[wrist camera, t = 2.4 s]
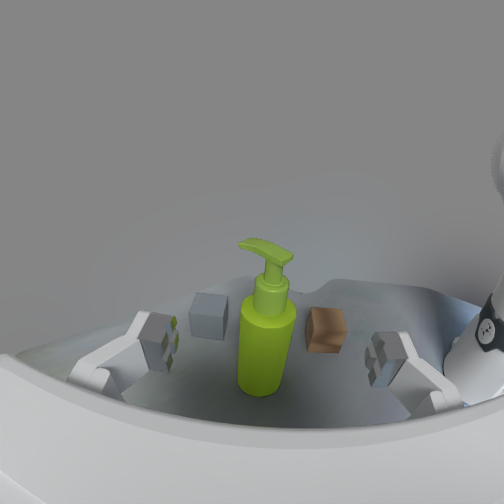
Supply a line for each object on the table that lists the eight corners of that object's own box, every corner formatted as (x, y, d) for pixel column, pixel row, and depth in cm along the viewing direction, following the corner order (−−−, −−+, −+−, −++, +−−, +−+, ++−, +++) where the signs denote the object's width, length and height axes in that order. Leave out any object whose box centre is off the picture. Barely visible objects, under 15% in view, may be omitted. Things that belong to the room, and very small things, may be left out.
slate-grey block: (227, 319, 46) (227, 295, 43) (223, 340, 41) (222, 317, 39) (198, 315, 46) (196, 292, 44) (191, 336, 42) (189, 312, 39)
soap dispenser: (251, 353, 39) (262, 227, 30) (288, 378, 36) (319, 251, 26) (222, 375, 35) (222, 245, 26) (261, 404, 32) (283, 275, 22)
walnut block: (334, 331, 44) (341, 308, 42) (338, 353, 40) (347, 330, 38) (305, 330, 44) (311, 307, 42) (307, 352, 40) (314, 329, 38)
